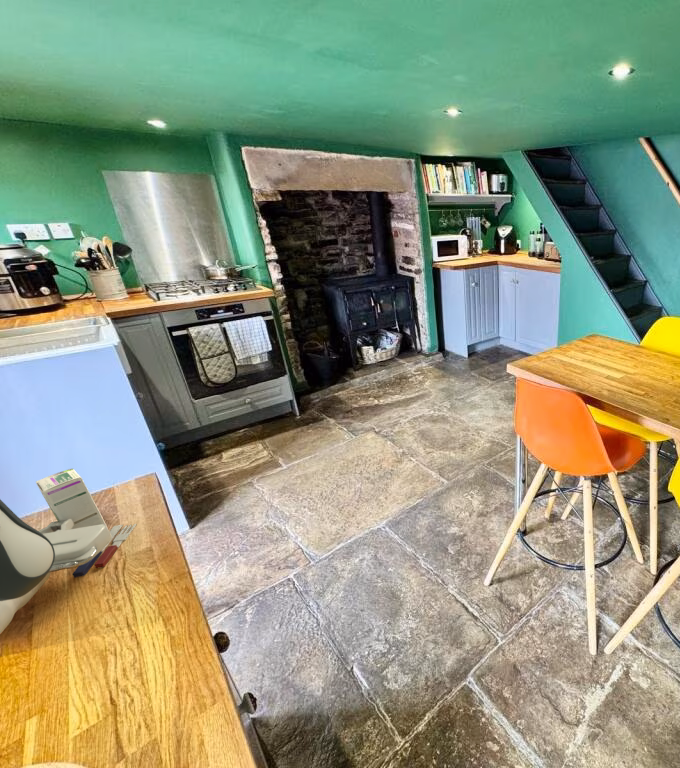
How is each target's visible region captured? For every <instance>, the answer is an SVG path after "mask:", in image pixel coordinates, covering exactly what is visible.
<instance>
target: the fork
mask: <svg viewBox="0 0 680 768" xmlns="http://www.w3.org/2000/svg"><path fill="white" fill-rule="evenodd" d="M136 527H137V523H134V524H129V525H126V524H125V525H124V527H123V528H121V530H120V531H119V532H118V534H116V535H115V537H114V538H113V539H112V541H111V542H112V544H111V545H108V546H107V547H106V549H105V550H104V551H103V552H102V554H101V555H100V556H99V558H98V559H97V560H96V561H95V563H94V564H93V566H94V568H95V569H100V568H105V567H106V565H107V564H108V563H109V562H110V560H111V559H112V557H113V556H114V554H115V553H116V552H117V550H118V549H119V548H120V547H121V545H122V544H123V543H124V542H126V541H127V540H128V538H129V537H130V535H131V533H132V532H133V531H134V529H135V528H136Z"/></svg>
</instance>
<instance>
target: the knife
mask: <svg viewBox="0 0 680 768" xmlns="http://www.w3.org/2000/svg"><path fill="white" fill-rule="evenodd" d="M123 526H124V524H118V525H113V526H112V528H111V529H109V531H110V534H111V540H110V541H109V543H108V544H107V545H106V546H105V547H104V548H103V549H102V550H101V551H100V552H99V553H98V554H97V555H96V556H95V557H94V558H93V559H91V560H90V561H89V562H87V563H85V564H83V565H80V566H77V567H76V569H75V570H74V571H73V572H72V576H73V578H74V579H75V578H80V577H85V576H86V575H87V573H88V572H89V571H90V569H91V568H92V567H93V566H94V564H95V563H96V562H97V560H98V559H99V558H100V556H101V555H102V554H103V553H104V551H105V550H106V549H107V547H108V546H110V543H111V542H112V541H113V540H114V539H115V537H116V536H117V535H118V534H119V533H120V531H121V530H122V529H123V528H122V527H123Z"/></svg>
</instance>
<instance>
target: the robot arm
mask: <svg viewBox="0 0 680 768" xmlns="http://www.w3.org/2000/svg"><path fill="white" fill-rule="evenodd" d="M73 526H74V523H73V521H72V519H68V520H62V521H57V520H56V521H55V520H54V521H51V522H50V523H49V524H48V525H47V526H45V527H43V528H41V529H38V530H37V529H36V528H34V527H32V526H31V525H29V524H28V523H26V522H24V521H23V520H22V519H21V517H19V516H18V515H17V514H16V513H15V512H14V511H13V510H12V509H11V508H10V507H9V506H8V505H7V504H6V503H5V502H4V501H3V500H1V498H0V635H1V634H2V633H3V632H4V630H6V628H7V627H9V625H10V623H11V622H12V620H13V618H14V616H15V614H16V613H17V612H18V611H19V610H21V609H22V608H23V607H25V605H27V604H28V603H29V601H31V599H32V598H34V596H35V595H36V593H37V592H38V591H39V590H41V588H42V586H43V585H44V584H46V582H47V581H48V580H49V578H50V576H51V575H52V574H51V573H53V572H58V571H62V570H70V569H74V568H78V566H80V565H83V564H85V563H87V562H89V561H90V560H91V559H93V558H94V557H95V556H96V555H97V554H98V553H99V552H100V551H101V550H102V549H103V548H104V547H105V546H106V545H107V544H108V543H109V541H110V540H111V534H110V529H109V528H107V527H108V526H107V527H106V526H105V525H103V524H101V525H95V526H88V527H82V528H76V529H71V528H72V527H73ZM109 544H110V543H109Z"/></svg>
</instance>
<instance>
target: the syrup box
mask: <svg viewBox="0 0 680 768" xmlns="http://www.w3.org/2000/svg"><path fill="white" fill-rule="evenodd" d="M35 484H36V485H37V487H38V489H39V491H40V493H41V494H42V497H43V498H44V500H45V502H46V503H47V505H48V507H49V509H50V510H51V512H52V514H53V515H54V517H55V519H56V521H62V520H68V519H72V521H73V523H74V526H73V527H72V528H71V529H76V528H82V527H88V526H95V525H101V524H103V525H105V526H106V527H107V528H108V524H106V521H105V519H104V517H103V515H102V514H101V513H102V512H101V511H100V510H99V507H98V506H97V504H96V502H95V500H94V498H93V496H92V494H91V493H90V490H89V489H88V487H87V485H86V484H85V481H84V479H83V477H81V475H80V474H79V473H78V472H77V471H76V470H75V469H74V468H68V469H65V470H62V471H59V472H56V473H54V474H50V475H48V476H46V477H44V478H41V479H39V480H36V481H35ZM108 529H109V528H108Z"/></svg>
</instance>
